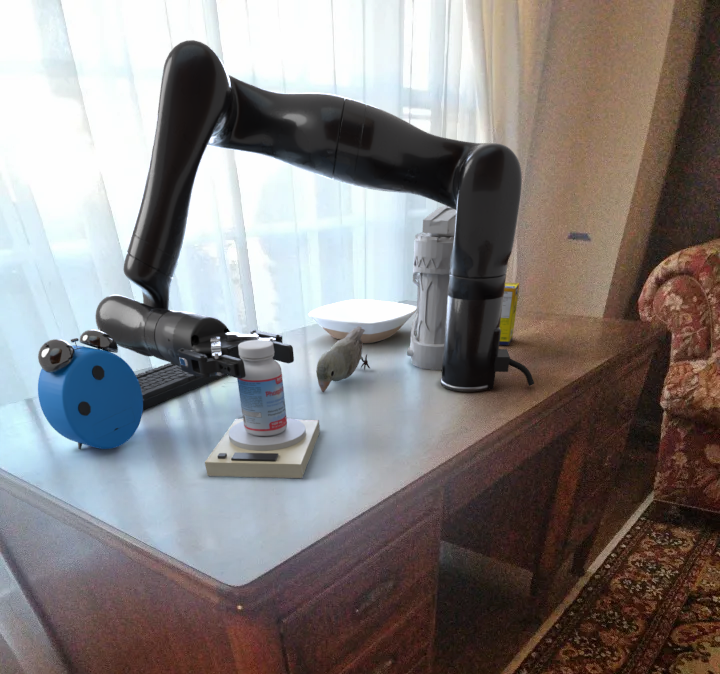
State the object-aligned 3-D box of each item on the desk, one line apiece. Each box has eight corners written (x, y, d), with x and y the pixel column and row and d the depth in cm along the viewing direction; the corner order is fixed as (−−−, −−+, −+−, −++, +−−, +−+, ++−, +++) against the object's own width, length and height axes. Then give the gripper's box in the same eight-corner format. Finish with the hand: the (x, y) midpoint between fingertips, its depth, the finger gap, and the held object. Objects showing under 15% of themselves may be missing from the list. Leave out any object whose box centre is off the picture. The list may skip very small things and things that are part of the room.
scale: (319, 432, 88) (318, 414, 86) (302, 478, 76) (300, 458, 74) (237, 431, 89) (234, 413, 87) (207, 476, 77) (203, 456, 75)
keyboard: (210, 357, 121) (208, 347, 119) (252, 365, 116) (250, 354, 115) (69, 410, 98) (65, 398, 97) (114, 421, 93) (111, 408, 92)
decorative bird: (308, 391, 103) (305, 345, 98) (348, 366, 114) (347, 324, 109) (335, 395, 101) (333, 348, 96) (373, 369, 112) (373, 327, 107)
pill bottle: (280, 439, 79) (270, 351, 72) (238, 436, 80) (224, 349, 73) (292, 423, 84) (284, 338, 76) (253, 420, 85) (241, 337, 77)
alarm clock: (128, 426, 92) (98, 321, 82) (155, 433, 89) (127, 326, 79) (57, 455, 83) (14, 343, 73) (85, 464, 81) (44, 349, 71)
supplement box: (512, 339, 127) (520, 282, 120) (508, 346, 123) (516, 287, 116) (485, 337, 129) (492, 281, 122) (481, 344, 125) (487, 286, 117)
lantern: (449, 373, 110) (462, 210, 93) (400, 366, 114) (405, 209, 97) (474, 356, 118) (490, 204, 102) (428, 350, 122) (436, 203, 106)
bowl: (353, 320, 144) (353, 296, 140) (428, 331, 134) (429, 306, 130) (297, 339, 130) (295, 313, 127) (375, 353, 121) (375, 325, 117)
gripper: (144, 323, 77) (219, 342, 68) (228, 304, 84) (304, 319, 76) (158, 381, 81) (230, 406, 73) (236, 359, 89) (309, 378, 81)
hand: (268, 361), depth 75 cm, fingers open, 8 cm apart
